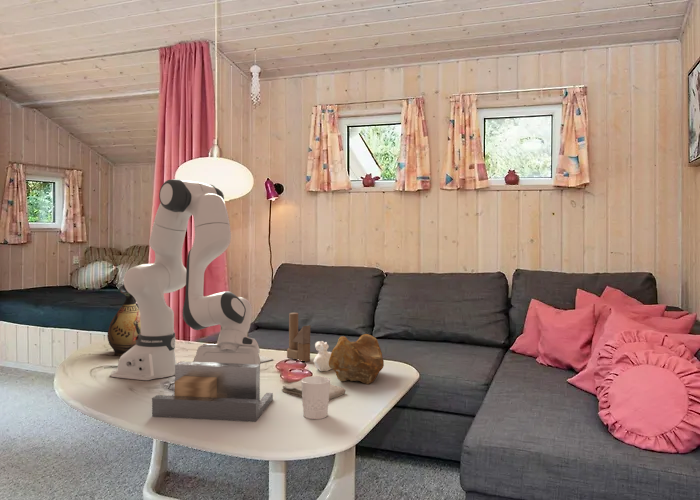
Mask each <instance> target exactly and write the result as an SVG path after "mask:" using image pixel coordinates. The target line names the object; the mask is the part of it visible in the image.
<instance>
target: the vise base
mask: <svg viewBox="0 0 700 500" xmlns="http://www.w3.org/2000/svg"><path fill="white" fill-rule="evenodd" d="M273 397H274V394H273V392H266V393H265V394H264V395H263V396H262V397H261V398H260V401H259V400H256V399H233V398H211V397H188V396H175V392H173V394H171V395H160V394H157V395H155V396H153V397H152V398H151V417H156V418H174V419H196V420H198V419H199V420H217V421H218V420H219V421H235V422H236V421H238V422H239V421H240V422H257V421H258V420H259V418H260V417H261V415H262V414H263V413H264V412H265V410H267V407H268V406H269V405H270V404H271V403H272V401H273V399H274V398H273Z"/></svg>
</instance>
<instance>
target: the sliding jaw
mask: <svg viewBox="0 0 700 500" xmlns="http://www.w3.org/2000/svg"><path fill="white" fill-rule="evenodd" d="M176 363H177V364H175V375H174V382H175V381H176V380H178V379H179V378H181V377H182V376H197V377H217V398H233V399H256V400H259V401H260V400H261V395H260V394H261V393H260V392H261V363H260V364H237V363H211V362H193V361H178V362H176Z"/></svg>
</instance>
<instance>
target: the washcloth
mask: <svg viewBox="0 0 700 500" xmlns="http://www.w3.org/2000/svg"><path fill="white" fill-rule="evenodd" d="M281 391H282V392H284V393H285V394H287V395H290V396H295V397H299V398H302V379H300V380H299V381H294V382H293V381H292V382H289V383H286V384H284V385H282V388H281ZM345 394H346V389H345V388H344V387H342V386H337V385H334V384H331V383H330V389H329V401H331V400H332V399H336V398H338V397H340V396H343V395H345Z"/></svg>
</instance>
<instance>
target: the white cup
mask: <svg viewBox="0 0 700 500" xmlns="http://www.w3.org/2000/svg"><path fill="white" fill-rule="evenodd" d="M301 380H302V397H301V401H302V412H303V413H302V414H303V417H304V418H306V419H309V420H322V419H325V418H326V417H327V416H328V408H329V404H330V403H329V401H330V400H329V389H330V384H331V380H330V378H329V377H327V376H321V375H313V376H305V377H303V378H301Z"/></svg>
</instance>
